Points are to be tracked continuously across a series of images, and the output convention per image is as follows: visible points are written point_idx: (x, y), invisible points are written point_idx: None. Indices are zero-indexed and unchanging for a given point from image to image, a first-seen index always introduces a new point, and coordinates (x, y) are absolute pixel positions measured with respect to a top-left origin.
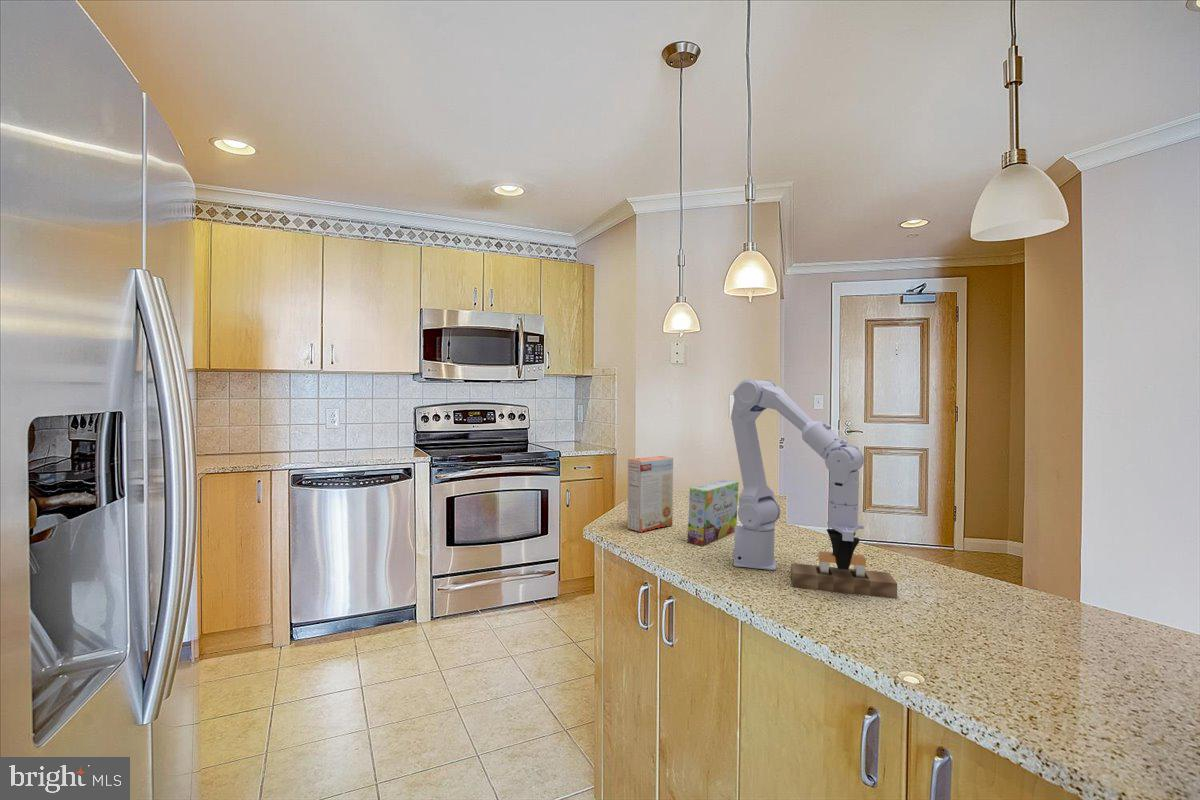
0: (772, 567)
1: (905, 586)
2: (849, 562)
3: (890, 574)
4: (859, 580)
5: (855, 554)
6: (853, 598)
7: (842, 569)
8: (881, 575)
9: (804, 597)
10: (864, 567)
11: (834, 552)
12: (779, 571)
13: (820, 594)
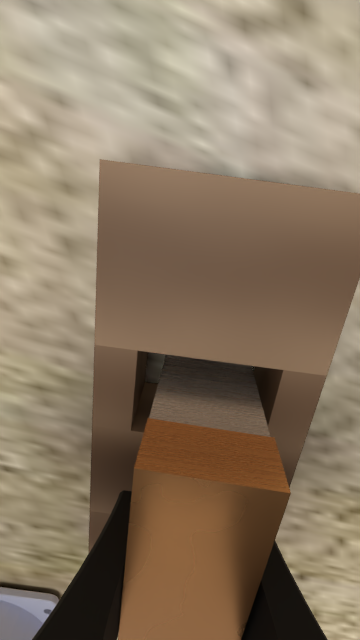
0: (44, 609)
1: (87, 33)
2: (282, 563)
3: (150, 167)
4: (307, 427)
5: (130, 524)
6: (340, 419)
7: (120, 463)
8: (195, 258)
9: (334, 569)
10: (268, 435)
11: (116, 636)
12: (54, 580)
13: (298, 519)
